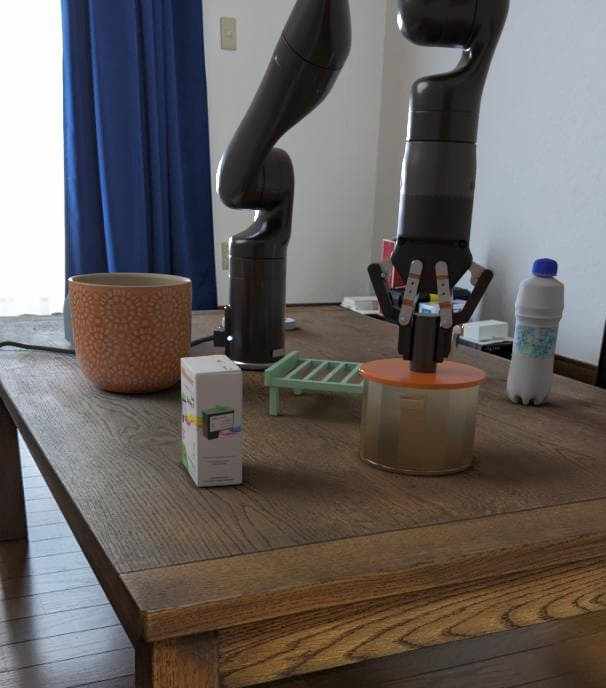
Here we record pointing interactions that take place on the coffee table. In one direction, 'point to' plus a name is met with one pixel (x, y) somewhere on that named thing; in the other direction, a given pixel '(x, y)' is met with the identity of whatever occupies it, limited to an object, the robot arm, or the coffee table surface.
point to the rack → (309, 377)
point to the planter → (131, 329)
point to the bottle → (536, 334)
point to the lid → (423, 363)
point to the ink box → (212, 420)
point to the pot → (418, 428)
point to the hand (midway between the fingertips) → (423, 359)
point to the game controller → (288, 323)
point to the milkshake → (454, 344)
